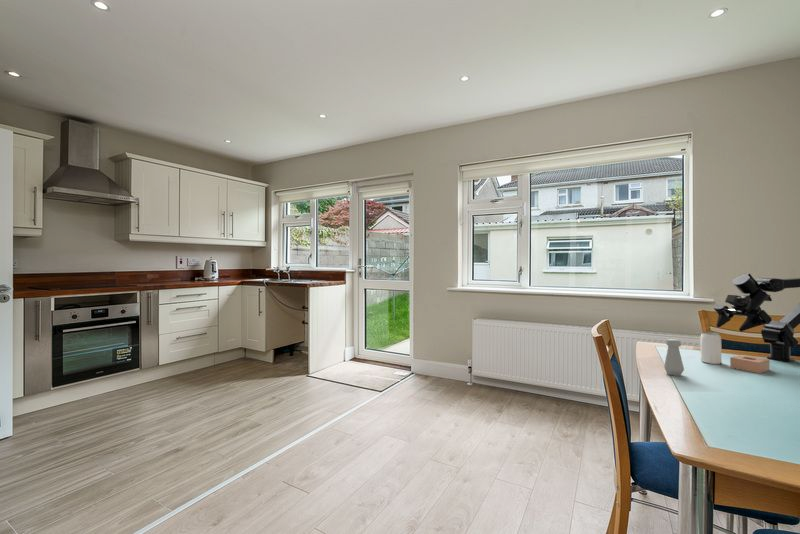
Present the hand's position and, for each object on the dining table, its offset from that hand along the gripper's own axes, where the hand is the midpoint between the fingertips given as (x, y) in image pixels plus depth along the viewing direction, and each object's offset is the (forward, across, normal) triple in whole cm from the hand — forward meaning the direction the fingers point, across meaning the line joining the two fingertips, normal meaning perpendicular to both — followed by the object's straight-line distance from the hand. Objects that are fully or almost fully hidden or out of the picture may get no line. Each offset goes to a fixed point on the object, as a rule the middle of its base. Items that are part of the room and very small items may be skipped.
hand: (728, 328), depth 146 cm
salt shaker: (+35, +12, -15) cm, 40 cm away
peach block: (+11, +10, +8) cm, 17 cm away
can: (+15, 0, +4) cm, 16 cm away
